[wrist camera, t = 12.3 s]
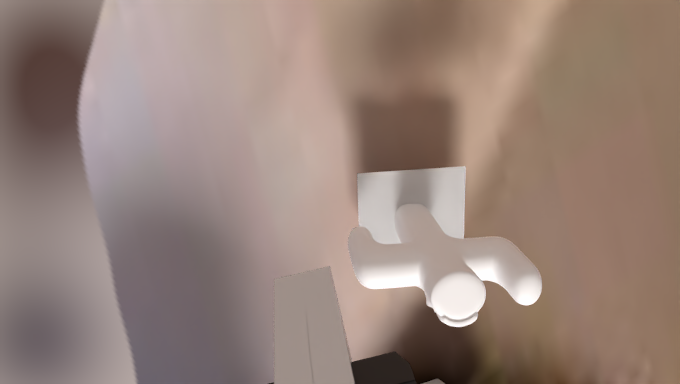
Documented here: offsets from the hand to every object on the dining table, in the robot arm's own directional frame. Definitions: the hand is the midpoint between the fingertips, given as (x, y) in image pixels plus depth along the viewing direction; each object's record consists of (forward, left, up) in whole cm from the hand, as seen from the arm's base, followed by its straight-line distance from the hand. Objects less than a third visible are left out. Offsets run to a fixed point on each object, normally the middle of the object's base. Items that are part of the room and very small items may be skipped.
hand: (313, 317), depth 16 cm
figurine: (-6, +8, -27) cm, 29 cm away
